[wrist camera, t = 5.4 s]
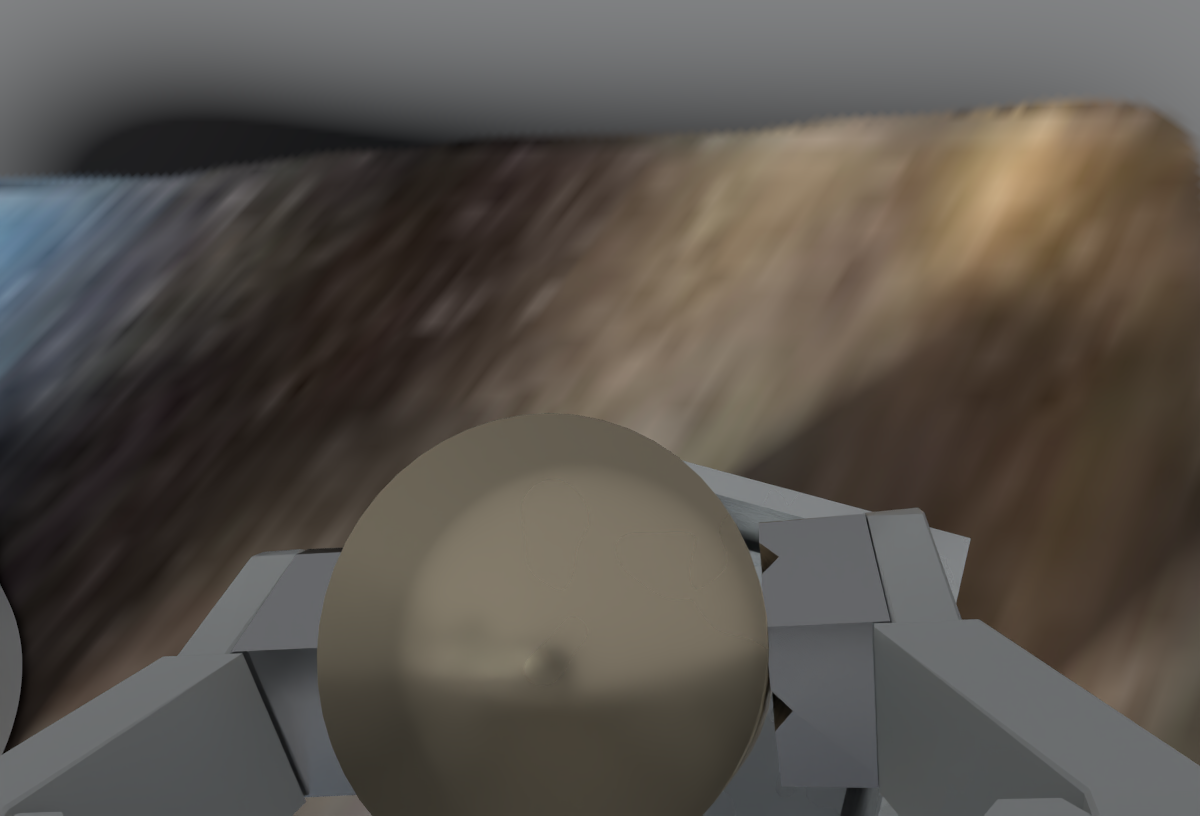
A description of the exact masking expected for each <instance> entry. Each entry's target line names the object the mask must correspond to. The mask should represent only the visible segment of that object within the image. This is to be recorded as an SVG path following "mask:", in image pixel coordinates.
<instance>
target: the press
mask: <svg viewBox="0 0 1200 816" xmlns="http://www.w3.org/2000/svg"><path fill="white" fill-rule="evenodd" d="M683 462H684V463H685V464H687V465H688V466H689V467H690V468H691V469H692V470H693V471H694V472H696V473H697V474H698V475H699V476H700V477H701V478H702V479H703V480H704V482H705V483H706V484H707V485H708V486H709V487H710V488H711V490H712V491H713V492H714V493H715V494H716V495H717V497H718V498H719V499H720V500H721V502H722V503H723V505H724V506H725V508H726V509H727V511H728V512H729V514H730V515H731V517H732V519H733V520H734V522H735V523H736V525H737V527H738V529H739V531H740V533H741V535H742V537H743V539H744V541H745V543H746V545H747V547H748V550H750V551H753V552H757V553H760V546H759V527H758V523H760V522H772V521H784V520H796V519H808V518H820V517H832V516H844V515H856V514H865V513H868V512H871V511H867V510H864V509H860V508H856V507H853V506H849V505H845V504H841V503H838V502H834V501H830V500H827V499H823V498H819V497H815V496H812V495H808V494H804V493H801V492H797V491H793V490H789V489H786V488H782V487H778V486H775V485H771V484H767V483H763V482H760V481H756V480H752V479H749V478H745V477H741V476H737V475H734V474H730V473H726V472H723V471H719V470H715V469H711V468H708V467H704V466H700V465H697V464H693V463H689V462H685V461H683ZM930 530H931V533H932V536H933V539H934V542H935V545H936V547H937V550H938V553H939V556H940V559H941V562H942V565H943V567H944V570H945V573H946V576H947V579H948V582H949V585H950V588H951V590H952V593H953V596H954V599H955V602H957V597H958V593H959V588H960V584H961V579H962V575H963V570H964V566H965V562H966V557H967V553H968V548H969V544H970V539H971V538H968V537H964V536H960V535H957V534H953V533H949V532H945V531H942V530H938V529H934V528H931V527H930ZM840 816H899V815H898V814H897V812H896V811H895V810H894V809H893V808H892V806H891V805H890V804H889V803H888V802H887V801H886V799H885V798H884V797H883V796H882V795H881V794H880V792H879V788H851V787H847V789H846V794H845V798H844V802H843V806H842V810H841V814H840Z"/></svg>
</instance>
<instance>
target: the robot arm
mask: <svg viewBox="0 0 1200 816" xmlns="http://www.w3.org/2000/svg"><path fill="white" fill-rule="evenodd" d="M758 527H759V546H760V557H761V568H762V575H761V579H762V593H763V599H764V604H765V610H766V615H767V630H768V642H769V662H768V666H769V677H770V687H771V691H772V698H773V712H774V725H775V736H776V745H777V753H778V762H779V770H780V779H781V787H851V788H879V792H880V794H881V795H882V796H883V797H884V798H885V799H886V801H887V802H888V803H889V804H890V805H891V806H892V808H893V809H894V810H895V811H896V812H897V814H898V815H899V816H1200V766H1199V765H1197V764H1196V763H1194V762H1193V761H1191V760H1190V759H1188V758H1187V757H1185V756H1184V755H1182V754H1181V753H1179V752H1178V751H1176V750H1175V749H1173V748H1172V747H1170V746H1169V745H1167V744H1166V743H1164V742H1163V741H1161V740H1160V739H1158V738H1157V737H1155V736H1154V735H1152V734H1151V733H1149V732H1148V731H1146V730H1145V729H1143V728H1142V727H1140V726H1139V725H1137V724H1136V723H1134V722H1133V721H1131V720H1130V719H1128V718H1127V717H1125V716H1124V715H1122V714H1121V713H1119V712H1118V711H1116V710H1115V709H1113V708H1112V707H1110V706H1109V705H1107V704H1106V703H1104V702H1103V701H1101V700H1100V699H1098V698H1097V697H1095V696H1094V695H1092V694H1091V693H1089V692H1088V691H1086V690H1085V689H1083V688H1082V687H1080V686H1079V685H1077V684H1076V683H1074V682H1073V681H1071V680H1070V679H1068V678H1067V677H1065V676H1064V675H1062V674H1061V673H1059V672H1058V671H1056V670H1055V669H1053V668H1052V667H1050V666H1049V665H1047V664H1046V663H1044V662H1043V661H1041V660H1040V659H1038V658H1037V657H1035V656H1034V655H1032V654H1031V653H1029V652H1028V651H1026V650H1025V649H1023V648H1022V647H1020V646H1019V645H1017V644H1016V643H1014V642H1013V641H1011V640H1010V639H1008V638H1007V637H1005V636H1004V635H1002V634H1001V633H999V632H998V631H996V630H995V629H993V628H992V627H990V626H989V625H987V624H986V623H984V622H983V621H981V620H979V619H969V620H962V619H961V616H960V613H959V610H958V608H957V605H956V602H955V599H954V596H953V593H952V590H951V588H950V585H949V582H948V579H947V576H946V573H945V570H944V567H943V565H942V562H941V559H940V556H939V553H938V550H937V547H936V545H935V542H934V539H933V536H932V533H931V530H930V527H929V524H928V522H927V519H926V516H925V513H924V512H923V511H922V510H921V509H919V508H908V509H898V510H888V511H878V512H868V513H865V514H856V515H844V516H832V517H820V518H808V519H796V520H784V521H772V522H760V523H758ZM342 549H343V548H322V549H307V550H301V549H298V550H284V551H271V552H263V553H260V554H257V555H255V556H252V557H251V558H250V559H249V561H248V562H247V563H246V565H245V566H244V567H243V569H242V570H241V572H240V573H239V574H238V576H237V577H236V578H235V580H234V581H233V582H232V584H231V585H230V586H229V588H228V589H227V590H226V592H225V593H224V594H223V596H222V597H221V598H220V600H219V601H218V602H217V604H216V605H215V606H214V608H213V609H212V610H211V612H210V613H209V614H208V616H207V617H206V618H205V620H204V621H203V622H202V624H201V625H200V626H199V628H198V629H197V630H196V632H195V633H194V634H193V636H192V637H191V639H190V640H189V641H188V643H187V644H186V645H185V647H184V648H183V649H182V651H181V652H180V653H179V655H178V656H168V657H162V658H160V659H159V660H157V661H155V662H154V663H152V664H150V665H149V666H147V667H145V668H144V669H142V670H140V671H139V672H137V673H136V674H134V675H132V676H131V677H129V678H127V679H126V680H124V681H122V682H121V683H119V684H117V685H116V686H114V687H113V688H111V689H109V690H108V691H106V692H104V693H103V694H101V695H99V696H98V697H96V698H94V699H93V700H91V701H90V702H88V703H86V704H85V705H83V706H81V707H80V708H78V709H76V710H75V711H73V712H71V713H70V714H68V715H67V716H65V717H63V718H62V719H60V720H58V721H57V722H55V723H53V724H52V725H50V726H48V727H47V728H45V729H43V730H42V731H40V732H39V733H37V734H35V735H34V736H32V737H30V738H29V739H27V740H25V741H24V742H22V743H20V744H19V745H17V746H16V747H14V748H12V749H11V750H9V751H7V752H6V753H4V754H3V751H4V749H5V746H6V744H7V742H8V739H9V736H10V733H11V730H12V727H13V724H14V720H15V717H16V712H17V708H18V703H19V698H20V691H21V682H22V650H21V642H20V636H19V631H18V627H17V623H16V620H15V616H14V613H13V611H12V608H11V606H10V604H9V602H8V600H7V598H6V595H5V593H4V591H3V589H2V587H1V585H0V816H292V815H293V814H294V813H295V812H296V811H297V810H298V809H299V808H300V807H301V806H302V805H303V804H304V803H305V802H306V800H305V797H321V796H343V795H356V793H355V791H354V790H353V788H352V786H351V785H350V783H349V781H348V780H347V778H346V776H345V775H344V773H343V771H342V769H341V766H340V764H339V762H338V759H337V757H336V755H335V752H334V750H333V748H332V745H331V742H330V739H329V735H328V732H327V729H326V725H325V722H324V718H323V714H322V708H321V702H320V695H319V689H318V675H317V646H318V634H319V624H320V619H321V614H322V609H323V603H324V598H325V594H326V591H327V588H328V585H329V582H330V579H331V576H332V573H333V570H334V567H335V565H336V563H337V560H338V558H339V556H340V554H341V552H342Z"/></svg>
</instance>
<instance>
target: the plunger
mask: <svg viewBox="0 0 1200 816" xmlns="http://www.w3.org/2000/svg"><path fill="white" fill-rule="evenodd" d="M761 575H762V568H761V557H760V553H757V552H753V551H750V550H748V547H747V545H746V543H745V541H744V539H743V537H742V535H741V533H740V531H739V529H738V527H737V525H736V523H735V522H734V520H733V519H732V517H731V515H730V514H729V512H728V511H727V509H726V508H725V506H724V505H723V503H722V502H721V500H720V499H719V498H718V497H717V495H716V494H715V493H714V492H713V491H712V490H711V488H710V487H709V486H708V485H707V484H706V483H705V482H704V480H703V479H702V478H701V477H700V476H699V475H698V474H697V473H696V472H694V471H693V470H692V469H691V468H690V467H689V466H688V465H687V464H685V463H684V462H683V461H682V460H681V459H680V458H679V457H677V456H676V455H674V454H673V453H671V452H670V451H668V450H667V449H665V448H664V447H662V446H661V445H659V444H658V443H656V442H655V441H653V440H651V439H649V438H647V437H645V436H643V435H641V434H639V433H637V432H635V431H632V430H630V429H628V428H625V427H622V426H619V425H616V424H613V423H610V422H607V421H604V420H600V419H595V418H590V417H584V416H579V415H570V414H554V413H544V414H530V415H519V416H514V417H509V418H504V419H499V420H494V421H491V422H488V423H485V424H482V425H479V426H476V427H473V428H470V429H467V430H465V431H463V432H461V433H459V434H457V435H455V436H453V437H451V438H449V439H446V440H444V441H442V442H441V443H439V444H438V445H436V446H435V447H433V448H431V449H430V450H428V451H427V452H425V453H424V454H422V455H420V456H419V457H418V458H417V459H415V460H414V461H413V462H412V463H410V464H409V465H408V466H407V467H406V468H404V469H403V470H402V471H401V472H399V473H398V474H397V475H396V476H395V477H394V478H393V479H392V480H391V481H390V482H389V483H388V484H387V486H386V487H385V488H384V489H383V490H382V491H381V492H380V493H379V494H378V495H377V496H376V498H375V499H374V500H373V502H372V503H371V504H370V505H369V507H368V508H367V509H366V511H365V512H364V513H363V515H362V516H361V517H360V519H359V521H358V522H357V524H356V526H355V527H354V529H353V531H352V532H351V534H350V536H349V537H348V539H347V541H346V543H345V545H344V547H343V549H342V552H341V554H340V556H339V558H338V560H337V563H336V565H335V567H334V570H333V573H332V576H331V579H330V582H329V585H328V588H327V591H326V594H325V598H324V603H323V609H322V614H321V619H320V624H319V634H318V646H317V675H318V689H319V695H320V702H321V708H322V714H323V718H324V722H325V725H326V729H327V732H328V735H329V739H330V742H331V745H332V748H333V750H334V752H335V755H336V757H337V759H338V762H339V764H340V766H341V769H342V771H343V773H344V775H345V776H346V778H347V780H348V781H349V783H350V785H351V786H352V788H353V790H354V791H355V793H356V795H357V797H358V798H359V800H360V801H361V802H362V803H363V805H364V806H365V807H366V808H367V810H368V811H369V812H370V813H371V815H372V816H840V814H841V810H842V806H843V802H844V798H845V794H846V789H847V787H781V779H780V770H779V762H778V753H777V745H776V736H775V725H774V712H773V698H772V691H771V687H770V677H769V666H768V662H769V642H768V630H767V615H766V610H765V604H764V599H763V593H762V579H761Z"/></svg>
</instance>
